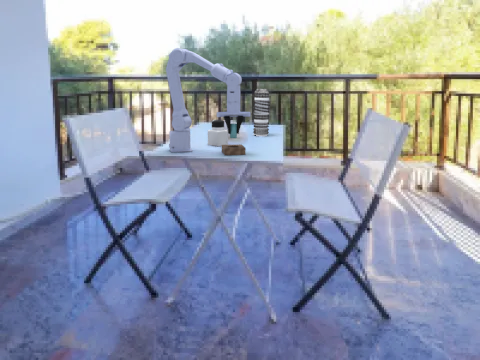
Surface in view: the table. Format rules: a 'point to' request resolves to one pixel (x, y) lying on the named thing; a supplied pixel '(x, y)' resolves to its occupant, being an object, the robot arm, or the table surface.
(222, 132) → the medicine bottle
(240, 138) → the table surface
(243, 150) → the socket block
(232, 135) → the peg
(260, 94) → the decorative candle
